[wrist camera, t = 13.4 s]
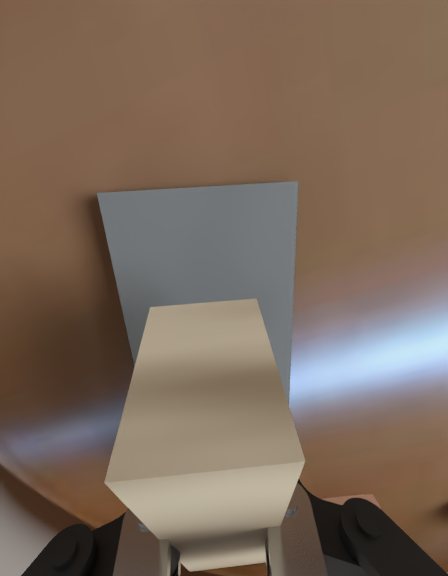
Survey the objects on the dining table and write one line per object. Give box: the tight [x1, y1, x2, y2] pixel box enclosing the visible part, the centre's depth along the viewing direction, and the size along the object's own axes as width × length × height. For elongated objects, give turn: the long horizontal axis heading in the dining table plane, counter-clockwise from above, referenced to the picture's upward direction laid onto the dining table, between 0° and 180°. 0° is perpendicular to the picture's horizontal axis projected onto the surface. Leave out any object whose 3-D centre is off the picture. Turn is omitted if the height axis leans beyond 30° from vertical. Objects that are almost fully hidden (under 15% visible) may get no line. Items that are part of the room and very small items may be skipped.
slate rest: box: [97, 181, 298, 405], centre depth 14 cm, size 20×8×1 cm, turn 3°
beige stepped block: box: [104, 298, 305, 571], centre depth 10 cm, size 15×6×4 cm, turn 4°
